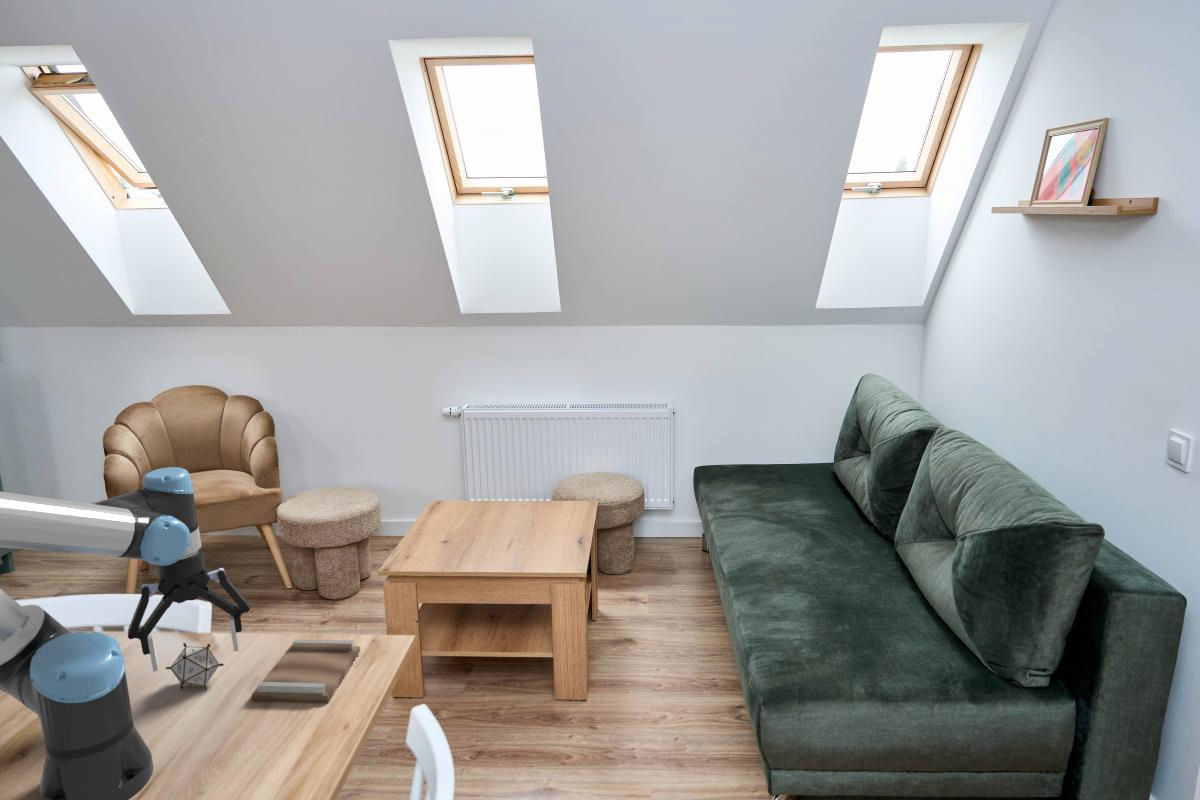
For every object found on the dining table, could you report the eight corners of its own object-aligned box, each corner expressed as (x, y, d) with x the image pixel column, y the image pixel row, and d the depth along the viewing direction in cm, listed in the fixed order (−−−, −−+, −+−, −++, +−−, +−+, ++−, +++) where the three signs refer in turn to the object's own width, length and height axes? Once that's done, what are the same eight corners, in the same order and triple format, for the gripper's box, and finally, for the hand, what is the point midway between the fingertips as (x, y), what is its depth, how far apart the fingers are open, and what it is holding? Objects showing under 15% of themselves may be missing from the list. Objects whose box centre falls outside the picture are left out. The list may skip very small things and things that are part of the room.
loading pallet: (328, 703, 152) (326, 688, 151) (252, 701, 152) (250, 686, 152) (360, 653, 168) (359, 639, 168) (292, 651, 169) (290, 638, 168)
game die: (211, 698, 160) (240, 653, 161) (184, 708, 152) (216, 661, 152) (175, 671, 162) (204, 626, 162) (147, 680, 153) (178, 633, 154)
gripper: (251, 530, 161) (265, 631, 166) (100, 560, 150) (120, 666, 155) (255, 544, 154) (269, 648, 159) (98, 576, 143) (119, 686, 148)
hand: (196, 657), depth 157 cm, fingers open, 13 cm apart
